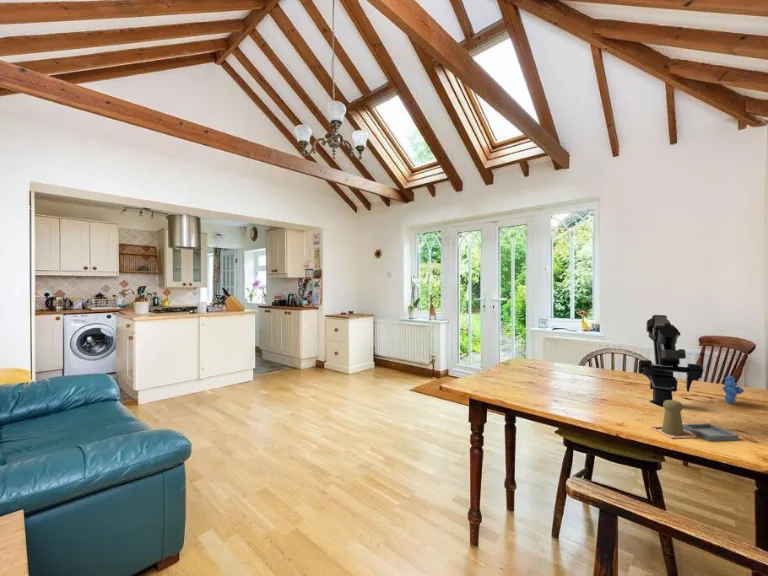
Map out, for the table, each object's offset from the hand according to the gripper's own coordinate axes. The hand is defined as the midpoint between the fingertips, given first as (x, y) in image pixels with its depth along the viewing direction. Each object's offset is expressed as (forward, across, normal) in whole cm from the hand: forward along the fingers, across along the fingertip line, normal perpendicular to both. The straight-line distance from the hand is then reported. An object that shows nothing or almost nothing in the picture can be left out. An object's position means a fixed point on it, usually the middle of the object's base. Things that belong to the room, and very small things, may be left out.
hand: (671, 389), depth 130 cm
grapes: (-18, +26, +39) cm, 50 cm away
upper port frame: (+15, -1, +4) cm, 15 cm away
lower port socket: (+12, +10, +7) cm, 16 cm away
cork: (+15, -1, +4) cm, 15 cm away
